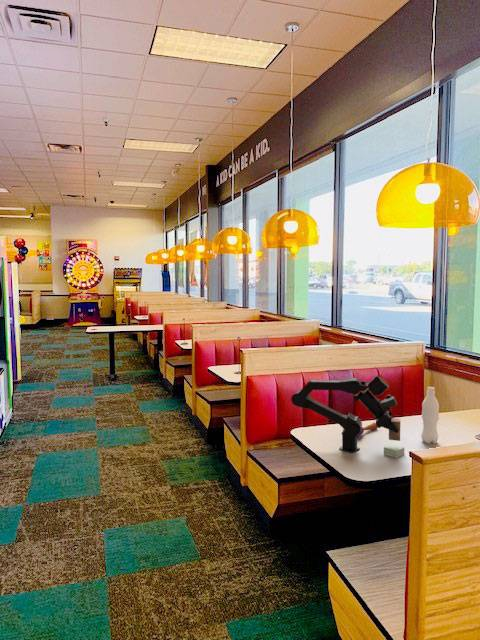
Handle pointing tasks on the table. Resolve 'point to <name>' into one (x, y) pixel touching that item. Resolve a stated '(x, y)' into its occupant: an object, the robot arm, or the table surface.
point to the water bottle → (430, 417)
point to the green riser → (394, 450)
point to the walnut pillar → (393, 434)
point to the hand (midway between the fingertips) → (398, 430)
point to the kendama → (369, 427)
